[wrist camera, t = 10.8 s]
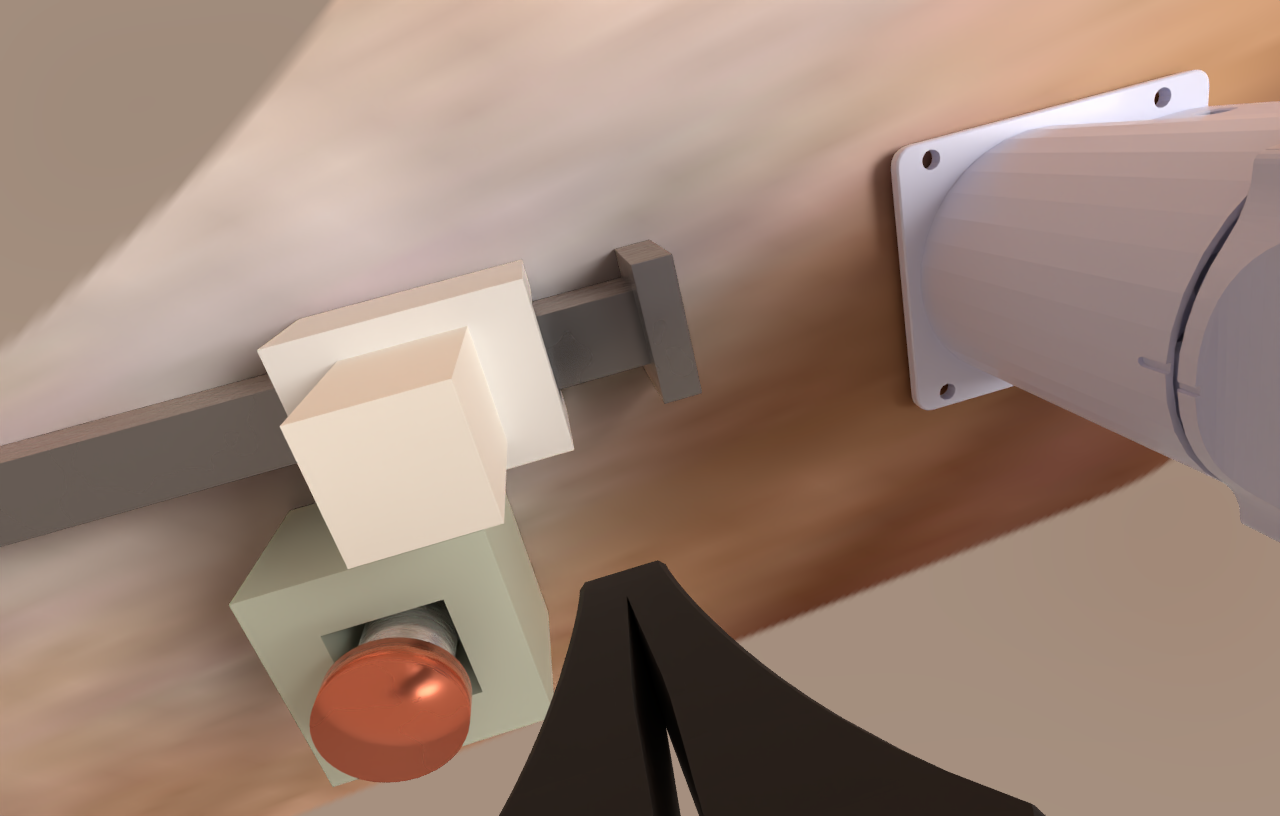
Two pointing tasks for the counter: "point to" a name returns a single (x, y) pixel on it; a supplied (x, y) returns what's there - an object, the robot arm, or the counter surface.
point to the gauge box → (348, 598)
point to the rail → (252, 414)
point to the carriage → (418, 409)
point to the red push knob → (395, 699)
